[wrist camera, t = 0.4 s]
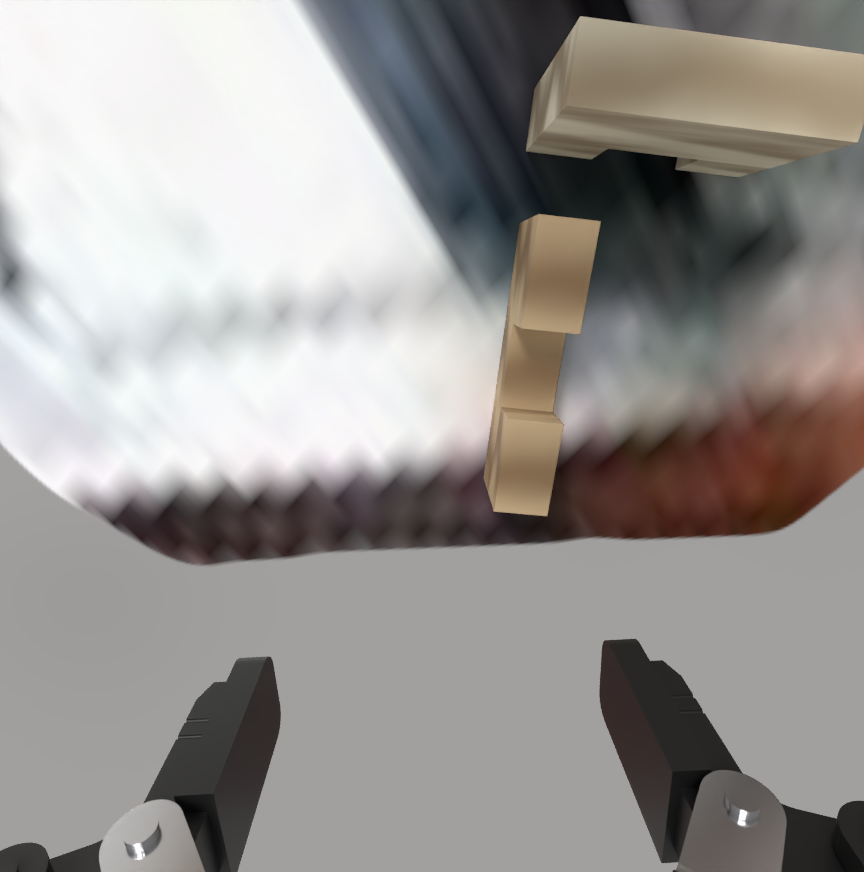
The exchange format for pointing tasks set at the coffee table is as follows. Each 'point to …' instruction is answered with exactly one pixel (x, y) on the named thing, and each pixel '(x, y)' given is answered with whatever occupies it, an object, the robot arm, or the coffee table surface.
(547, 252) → the oak slotted rail
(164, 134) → the coffee table surface
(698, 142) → the birch slotted plate
